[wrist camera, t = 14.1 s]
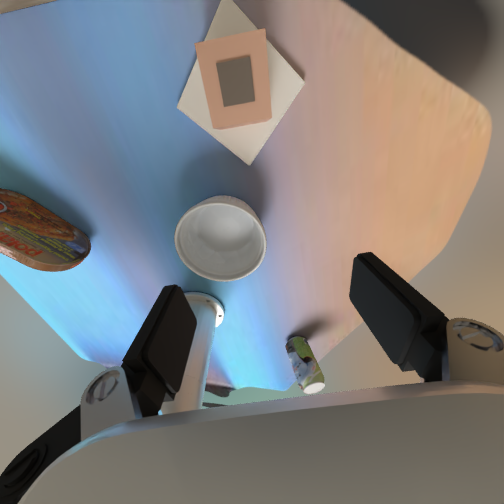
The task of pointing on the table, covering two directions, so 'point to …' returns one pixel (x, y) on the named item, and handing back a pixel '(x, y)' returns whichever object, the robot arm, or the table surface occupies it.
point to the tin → (38, 235)
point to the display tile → (280, 79)
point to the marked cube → (236, 79)
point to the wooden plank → (19, 4)
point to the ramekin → (221, 239)
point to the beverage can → (305, 365)
